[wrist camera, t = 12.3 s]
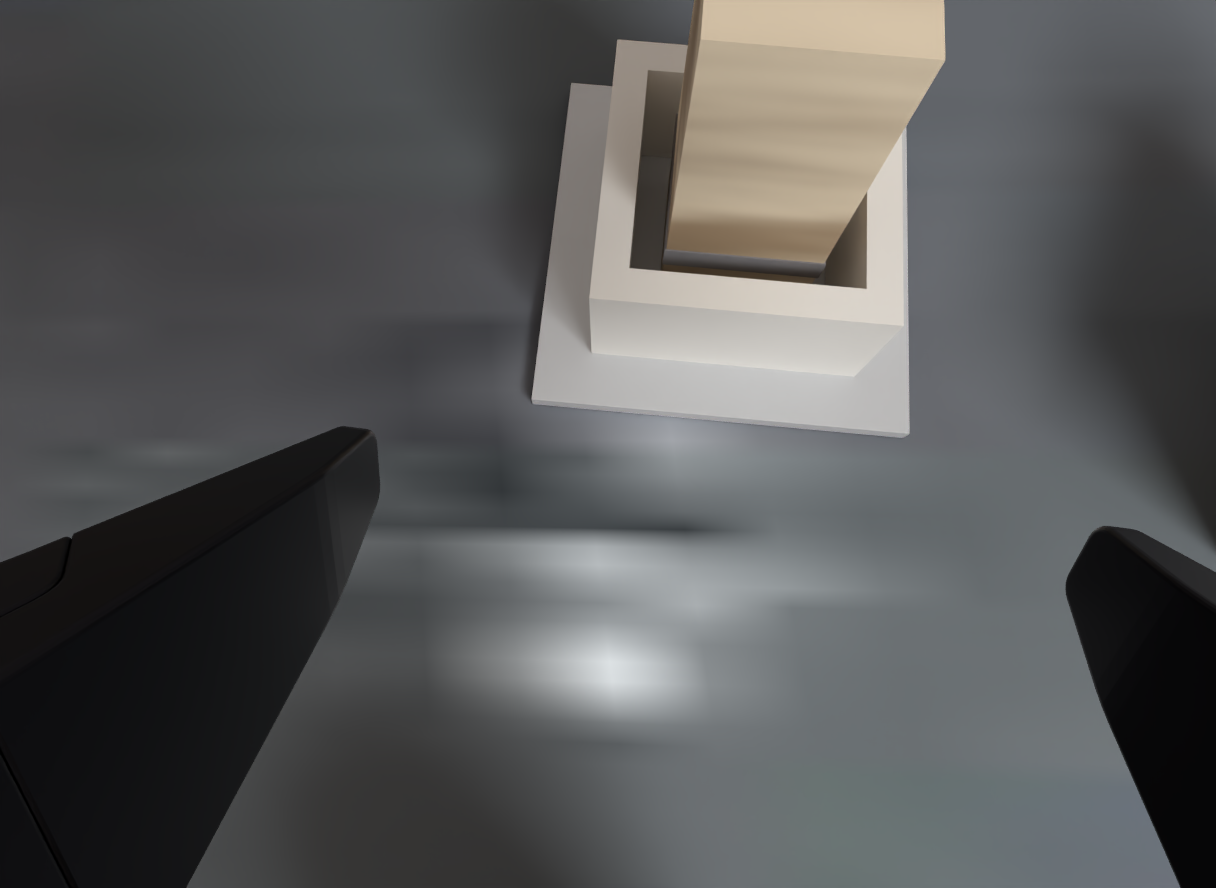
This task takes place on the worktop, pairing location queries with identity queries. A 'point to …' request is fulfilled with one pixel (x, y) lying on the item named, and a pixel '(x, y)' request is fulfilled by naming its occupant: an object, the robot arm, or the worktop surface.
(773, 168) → the wooden post
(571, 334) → the well
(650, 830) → the worktop surface
